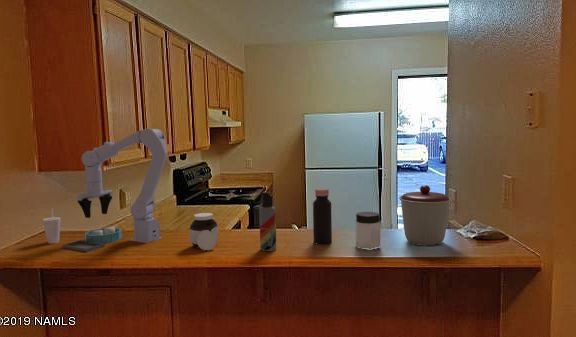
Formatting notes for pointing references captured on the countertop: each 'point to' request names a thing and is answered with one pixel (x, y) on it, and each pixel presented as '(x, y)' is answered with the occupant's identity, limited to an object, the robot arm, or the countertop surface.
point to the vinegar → (322, 217)
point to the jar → (367, 230)
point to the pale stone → (109, 230)
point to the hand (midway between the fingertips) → (96, 215)
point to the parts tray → (83, 245)
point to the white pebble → (97, 232)
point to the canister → (425, 216)
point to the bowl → (103, 236)
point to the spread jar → (204, 231)
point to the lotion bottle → (267, 224)
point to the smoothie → (52, 228)
